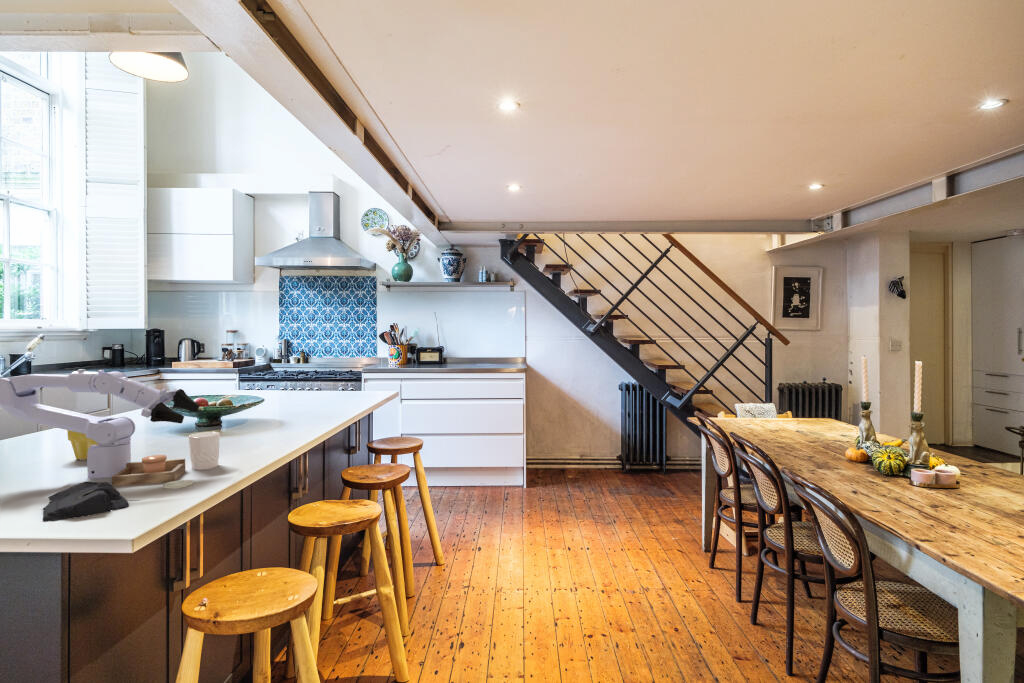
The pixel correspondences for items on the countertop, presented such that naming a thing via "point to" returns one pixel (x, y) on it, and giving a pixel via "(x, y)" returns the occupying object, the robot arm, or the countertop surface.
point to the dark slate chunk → (83, 501)
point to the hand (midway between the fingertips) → (190, 414)
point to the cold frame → (136, 476)
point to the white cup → (204, 450)
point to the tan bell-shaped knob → (154, 464)
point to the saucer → (178, 484)
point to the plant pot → (80, 444)
